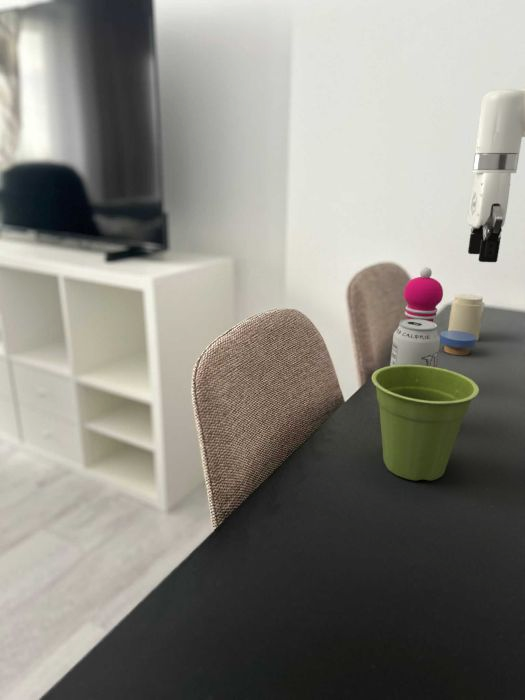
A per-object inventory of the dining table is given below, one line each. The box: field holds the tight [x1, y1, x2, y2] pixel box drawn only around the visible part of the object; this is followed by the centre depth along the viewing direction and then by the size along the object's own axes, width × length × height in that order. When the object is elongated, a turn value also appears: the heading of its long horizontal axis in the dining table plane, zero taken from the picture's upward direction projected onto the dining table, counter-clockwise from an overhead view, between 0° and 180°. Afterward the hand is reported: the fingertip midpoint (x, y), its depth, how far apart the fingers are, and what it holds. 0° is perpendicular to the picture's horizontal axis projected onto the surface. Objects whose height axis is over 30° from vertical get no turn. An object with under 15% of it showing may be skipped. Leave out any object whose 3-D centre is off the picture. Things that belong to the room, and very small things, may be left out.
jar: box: [447, 293, 485, 342], centre depth 112 cm, size 7×7×9 cm
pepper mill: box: [403, 266, 444, 368], centre depth 84 cm, size 7×7×20 cm
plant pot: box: [371, 365, 480, 482], centre depth 61 cm, size 12×12×11 cm
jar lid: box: [439, 330, 477, 349], centre depth 104 cm, size 7×7×2 cm
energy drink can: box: [389, 318, 441, 368], centre depth 71 cm, size 6×6×15 cm
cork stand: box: [443, 344, 471, 356], centre depth 104 cm, size 5×5×3 cm
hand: (481, 257), depth 100 cm, fingers open, 9 cm apart
